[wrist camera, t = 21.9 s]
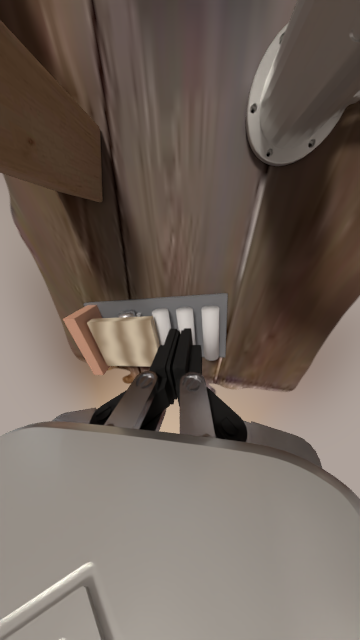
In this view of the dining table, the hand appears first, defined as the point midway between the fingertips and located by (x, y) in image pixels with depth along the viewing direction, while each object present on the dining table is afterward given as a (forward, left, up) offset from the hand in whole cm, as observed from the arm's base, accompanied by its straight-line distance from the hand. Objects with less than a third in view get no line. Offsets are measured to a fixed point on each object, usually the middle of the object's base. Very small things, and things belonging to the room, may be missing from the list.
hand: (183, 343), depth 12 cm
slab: (+18, +14, -19) cm, 30 cm away
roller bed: (+12, +14, -25) cm, 31 cm away
